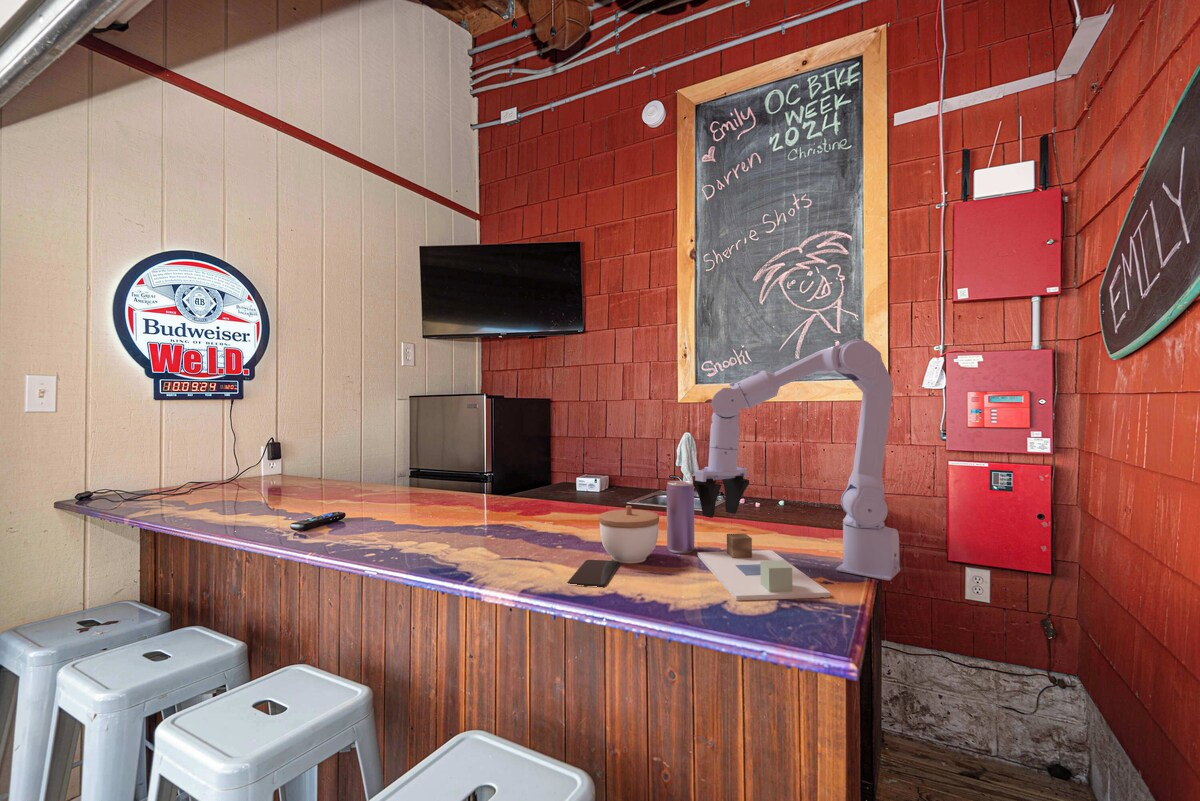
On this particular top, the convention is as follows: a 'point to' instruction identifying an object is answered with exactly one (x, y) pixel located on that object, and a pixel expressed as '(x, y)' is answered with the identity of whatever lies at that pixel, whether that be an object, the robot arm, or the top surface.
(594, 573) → the smartphone
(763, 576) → the sage block
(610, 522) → the lidded bowl
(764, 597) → the white flat panel
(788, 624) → the top surface
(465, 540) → the top surface
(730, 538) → the walnut block
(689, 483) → the beverage can
